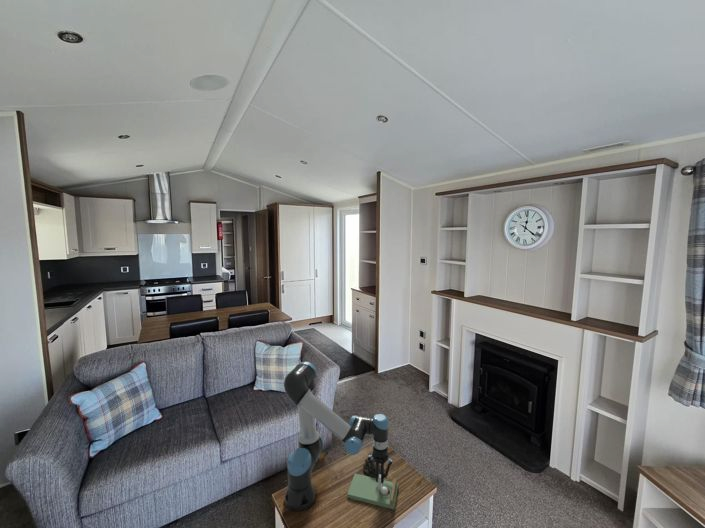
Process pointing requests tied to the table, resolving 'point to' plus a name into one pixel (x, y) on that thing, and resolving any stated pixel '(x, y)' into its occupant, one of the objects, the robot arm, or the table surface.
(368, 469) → the rock
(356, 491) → the green
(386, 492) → the ball
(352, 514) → the table surface
